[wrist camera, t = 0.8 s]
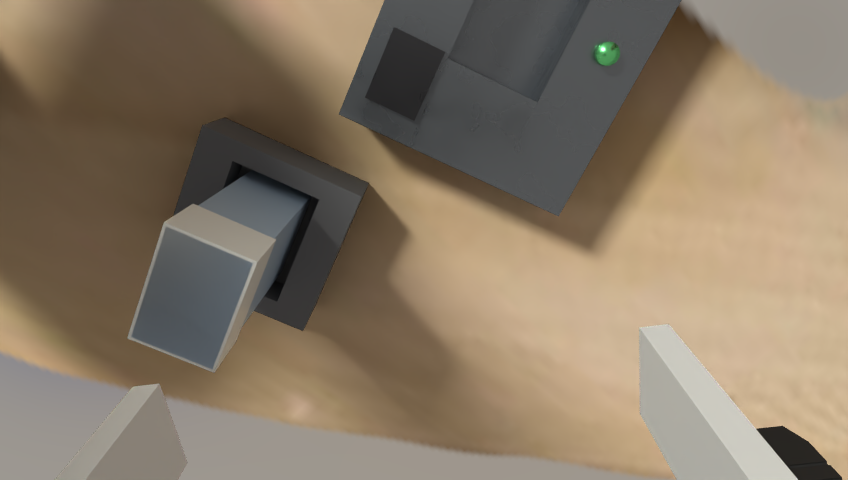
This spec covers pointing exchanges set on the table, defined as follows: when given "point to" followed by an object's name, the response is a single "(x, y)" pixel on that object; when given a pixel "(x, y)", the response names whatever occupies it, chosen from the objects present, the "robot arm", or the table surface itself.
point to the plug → (216, 268)
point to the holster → (329, 187)
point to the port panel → (505, 84)
